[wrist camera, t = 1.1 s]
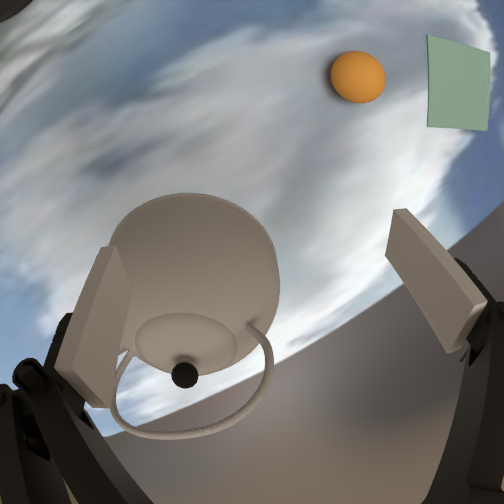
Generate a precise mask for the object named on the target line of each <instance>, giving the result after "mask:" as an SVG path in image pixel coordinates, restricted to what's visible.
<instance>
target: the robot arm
mask: <svg viewBox="0 0 504 504" xmlns="http://www.w3.org/2000/svg"><path fill="white" fill-rule="evenodd" d="M31 1H32V0H0V22H1V21H3V20H6V19H8V18H10V17H11V16H13V15H15V14H16V13H18V12H19V11H20V10H22V9H23V8H24V7H25V6H26V5H27V4H29V3H30V2H31ZM385 256H386V258H387V259H388V260H389V262H390V263H391V265H392V266H393V268H394V269H395V271H396V272H397V273H398V275H399V276H400V278H401V279H402V281H403V282H404V284H405V285H406V287H407V288H408V290H409V291H410V293H411V295H412V296H413V297H414V299H415V301H416V302H417V304H418V306H419V307H420V309H421V310H422V312H423V314H424V315H425V317H426V318H427V320H428V322H429V323H430V325H431V327H432V328H433V330H434V332H435V333H436V335H437V337H438V339H439V340H440V342H441V344H442V346H443V347H444V349H445V350H446V353H447V354H448V353H451V352H453V351H455V350H458V349H460V348H461V347H462V345H463V344H464V342H465V340H466V339H467V341H468V342H469V344H470V345H469V346H468V348H467V350H466V351H465V353H464V354H463V356H462V357H461V359H460V362H462V361H463V360H464V358H465V357H466V359H465V366H464V372H463V377H462V383H461V388H460V393H459V397H458V401H457V406H456V410H455V414H454V418H453V422H452V426H451V429H450V433H449V436H448V440H447V442H446V446H445V449H444V452H443V455H442V458H441V461H440V464H439V466H438V469H437V472H436V474H435V477H434V480H433V482H432V485H431V487H430V490H429V492H428V494H427V496H426V498H425V500H424V501H423V502H422V503H421V504H504V491H502V490H501V484H502V480H503V476H504V302H496V301H495V300H494V298H493V297H492V296H491V294H490V293H489V292H488V291H487V289H486V288H485V287H484V286H483V284H482V283H481V282H480V281H479V280H478V279H477V277H476V276H475V275H474V274H472V271H471V270H470V269H469V268H468V266H467V265H466V264H465V263H463V262H462V261H460V260H459V259H457V258H452V257H451V255H450V254H449V253H448V252H447V251H446V250H445V249H444V247H443V246H442V245H441V244H440V243H439V242H438V241H437V240H436V239H435V238H434V236H433V235H432V234H431V233H430V232H429V231H428V230H427V229H426V228H425V227H424V226H423V225H422V224H421V223H420V222H419V221H418V220H417V219H416V218H415V217H414V216H413V215H412V214H411V213H410V212H409V211H408V210H407V209H406V208H405V209H395V210H393V216H392V222H391V227H390V233H389V238H388V243H387V248H386V253H385ZM132 293H133V288H132V285H131V283H130V281H129V278H128V276H127V273H126V271H125V268H124V266H123V263H122V261H121V258H120V256H119V253H118V251H117V248H116V245H114V246H107V247H101V249H100V251H99V253H98V255H97V257H96V260H95V262H94V264H93V266H92V268H91V271H90V273H89V275H88V277H87V280H86V282H85V284H84V287H83V289H82V292H81V294H80V296H79V299H78V301H77V304H76V306H75V309H74V312H73V313H66V314H65V316H64V317H63V318H62V320H61V321H60V322H59V324H58V327H57V329H56V332H55V333H56V335H54V337H53V340H52V341H53V343H51V346H50V348H49V351H48V354H47V357H46V360H45V363H44V366H42V365H41V364H40V363H39V362H38V361H37V360H36V359H34V358H27V359H25V360H22V361H21V362H20V363H19V364H18V365H17V366H16V368H15V370H14V372H13V376H12V379H13V383H14V384H15V385H16V386H17V387H18V388H19V389H17V390H14V391H13V390H12V389H11V388H10V387H9V386H8V385H6V384H0V496H1V500H2V504H72V503H71V501H70V498H69V495H68V492H67V489H66V486H65V483H64V480H65V482H66V484H67V485H68V487H69V489H70V490H71V492H72V494H73V495H74V497H75V499H76V500H77V502H78V503H79V504H154V503H153V502H152V501H151V500H150V499H149V498H148V496H147V495H146V494H145V493H144V492H143V491H142V489H141V488H140V487H139V486H138V485H137V483H136V482H135V481H134V479H133V478H132V477H131V476H130V474H129V473H128V472H127V471H126V469H125V468H124V467H123V465H122V464H121V462H120V461H119V460H118V459H117V457H116V456H115V454H114V453H113V451H112V450H111V448H110V447H109V446H108V444H107V443H106V441H105V440H104V438H103V437H102V435H101V434H100V432H99V430H98V429H97V427H96V426H95V424H94V422H93V421H92V419H91V418H90V416H89V414H88V413H87V411H86V410H85V409H84V404H85V401H86V402H87V403H88V404H89V405H90V406H91V407H92V408H109V407H110V400H111V394H112V388H113V382H114V376H115V371H116V365H117V360H118V355H119V350H120V345H121V340H122V336H123V331H124V327H125V322H126V318H127V314H128V309H129V305H130V301H131V297H132ZM62 476H63V477H62ZM63 478H64V480H63Z"/></svg>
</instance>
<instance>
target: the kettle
mask: <svg viewBox="0 0 504 504" xmlns="http://www.w3.org/2000/svg"><path fill="white" fill-rule="evenodd" d="M114 245H116V248H117V251H118V253H119V256H120V258H121V261H122V263H123V266H124V268H125V271H126V273H127V276H128V278H129V281H130V283H131V285H132V288H133V293H132V297H131V301H130V305H129V309H128V314H127V318H126V322H125V327H124V331H123V336H122V340H121V345H120V350H119V355H120V354H121V353H123V352H125V351H126V350H128V352H127V354H126V355H125V357H124V358H123V360H122V361H121V363H120V365H119V366H118V368H117V370H116V372H115V376H114V382H113V388H112V394H111V400H110V411H111V414H112V416H113V418H114V419H115V421H116V422H117V423H118V424H119V425H120V426H121V427H122V428H123V429H125V430H126V431H128V432H130V433H132V434H134V435H137V436H140V437H144V438H150V439H165V440H167V439H186V438H194V437H199V436H204V435H209V434H211V433H215V432H218V431H220V430H223V429H225V428H228V427H230V426H231V425H233V424H235V423H237V422H238V421H240V420H241V419H243V418H244V417H245V416H246V415H248V414H249V413H250V412H251V411H252V410H253V409H254V408H255V407H256V406H257V405H258V404H259V403H260V401H261V400H262V398H263V397H264V395H265V394H266V392H267V390H268V388H269V386H270V383H271V380H272V376H273V370H274V356H273V351H272V347H271V345H270V342H269V341H268V339H267V338H266V336H265V335H266V333H267V332H268V330H269V328H270V326H271V324H272V322H273V319H274V317H275V314H276V310H277V307H278V302H279V294H280V278H279V270H278V264H277V259H276V253H275V249H274V246H273V243H272V241H271V239H270V237H269V235H268V233H267V232H266V230H265V229H264V228H263V226H262V225H261V224H260V223H259V222H258V221H257V220H256V219H255V218H254V217H253V216H252V215H251V214H250V213H248V212H247V211H245V210H244V209H242V208H241V207H239V206H237V205H235V204H233V203H231V202H229V201H227V200H224V199H221V198H218V197H215V196H210V195H205V194H198V193H178V194H171V195H166V196H162V197H158V198H155V199H153V200H150V201H148V202H146V203H144V204H142V205H140V206H139V207H137V208H136V209H134V210H133V211H132V212H130V213H129V214H128V215H127V216H126V217H125V218H124V219H123V220H122V221H121V223H120V224H119V225H118V227H117V228H116V230H115V232H114V234H113V236H112V238H111V241H110V244H109V246H114ZM259 343H260V344H261V346H262V348H263V350H264V355H265V370H264V375H263V378H262V381H261V384H260V386H259V387H258V389H257V391H256V392H255V393H254V395H253V396H252V397H251V398H250V399H249V401H248V402H247V403H246V404H245V405H243V407H241V408H240V409H239V410H237V411H236V412H235V413H233V414H232V415H230V416H228V417H226V418H225V419H223V420H221V421H218V422H216V423H213V424H210V425H207V426H203V427H199V428H194V429H187V430H178V431H151V430H144V429H140V428H137V427H134V426H132V425H130V424H129V423H127V422H126V421H125V420H124V419H122V417H121V416H120V414H119V412H118V410H117V406H116V391H117V387H118V383H119V381H120V378H121V376H122V374H123V372H124V370H125V369H126V367H127V365H128V364H129V362H130V361H131V359H132V357H133V356H136V357H138V358H139V359H141V360H142V361H144V362H145V363H147V364H149V365H150V366H152V367H155V368H157V369H159V370H161V371H164V372H167V373H170V374H171V376H172V380H173V382H174V383H175V384H176V385H177V386H178V387H181V388H190V387H193V386H194V385H195V384H196V383H197V380H198V376H201V375H207V374H211V373H214V372H217V371H220V370H223V369H225V368H228V367H230V366H232V365H234V364H235V363H237V362H239V361H240V360H242V359H243V358H244V357H246V356H247V355H248V354H249V353H251V352H252V351H253V350H254V349H255V348H256V347H257V345H258V344H259Z"/></svg>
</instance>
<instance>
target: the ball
mask: <svg viewBox="0 0 504 504" xmlns="http://www.w3.org/2000/svg"><path fill="white" fill-rule="evenodd" d="M331 81H332V84H333V86H334V88H335V90H336V91H337V92H338V93H339V94H340V95H341V96H342V97H343V98H345V99H347V100H349V101H351V102H355V103H367V102H370V101H373V100H375V99H376V98H377V97H378V96H380V94H381V93H382V91H383V90H384V87H385V82H386V77H385V72H384V70H383V68H382V66H381V64H380V63H379V62H378V61H377V60H376V59H375V58H374V57H373V56H371V55H369V54H367V53H365V52H360V51H351V52H347V53H344V54H342V55H341V56H339V57H338V58H337V59H336V60H335V62H334V63H333V65H332V68H331Z"/></svg>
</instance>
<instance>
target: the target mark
mask: <svg viewBox="0 0 504 504" xmlns="http://www.w3.org/2000/svg"><path fill="white" fill-rule="evenodd" d="M427 50H428V119H427V127H439V128H457V129H470V130H481V131H487V127H488V116H489V101H490V53H489V52H486V51H483V50H480V49H477V48H474V47H471V46H468V45H464V44H461V43H458V42H454V41H450V40H446V39H442V38H438V37H434V36H430V35H427Z"/></svg>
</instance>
